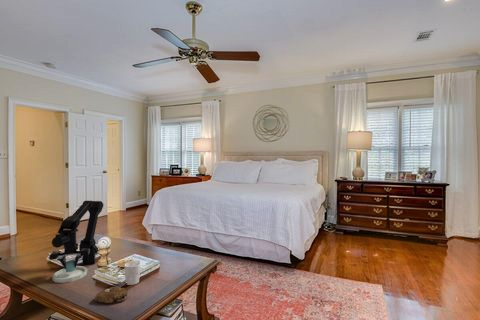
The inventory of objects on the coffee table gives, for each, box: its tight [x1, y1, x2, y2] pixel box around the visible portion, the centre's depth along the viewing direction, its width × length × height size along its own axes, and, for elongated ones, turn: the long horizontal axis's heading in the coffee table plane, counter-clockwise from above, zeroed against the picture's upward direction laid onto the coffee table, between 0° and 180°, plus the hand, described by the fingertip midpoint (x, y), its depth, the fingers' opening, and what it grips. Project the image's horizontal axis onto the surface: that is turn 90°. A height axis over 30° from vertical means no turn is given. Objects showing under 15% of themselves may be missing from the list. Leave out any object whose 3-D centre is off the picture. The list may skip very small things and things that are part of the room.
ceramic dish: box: [52, 265, 88, 284], centre depth 148 cm, size 16×16×2 cm
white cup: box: [124, 260, 141, 286], centre depth 141 cm, size 8×8×10 cm
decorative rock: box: [93, 286, 129, 304], centre depth 125 cm, size 11×4×15 cm
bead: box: [66, 259, 75, 272], centre depth 148 cm, size 4×4×5 cm
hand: (70, 268), depth 148 cm, fingers closed on bead, 4 cm apart
